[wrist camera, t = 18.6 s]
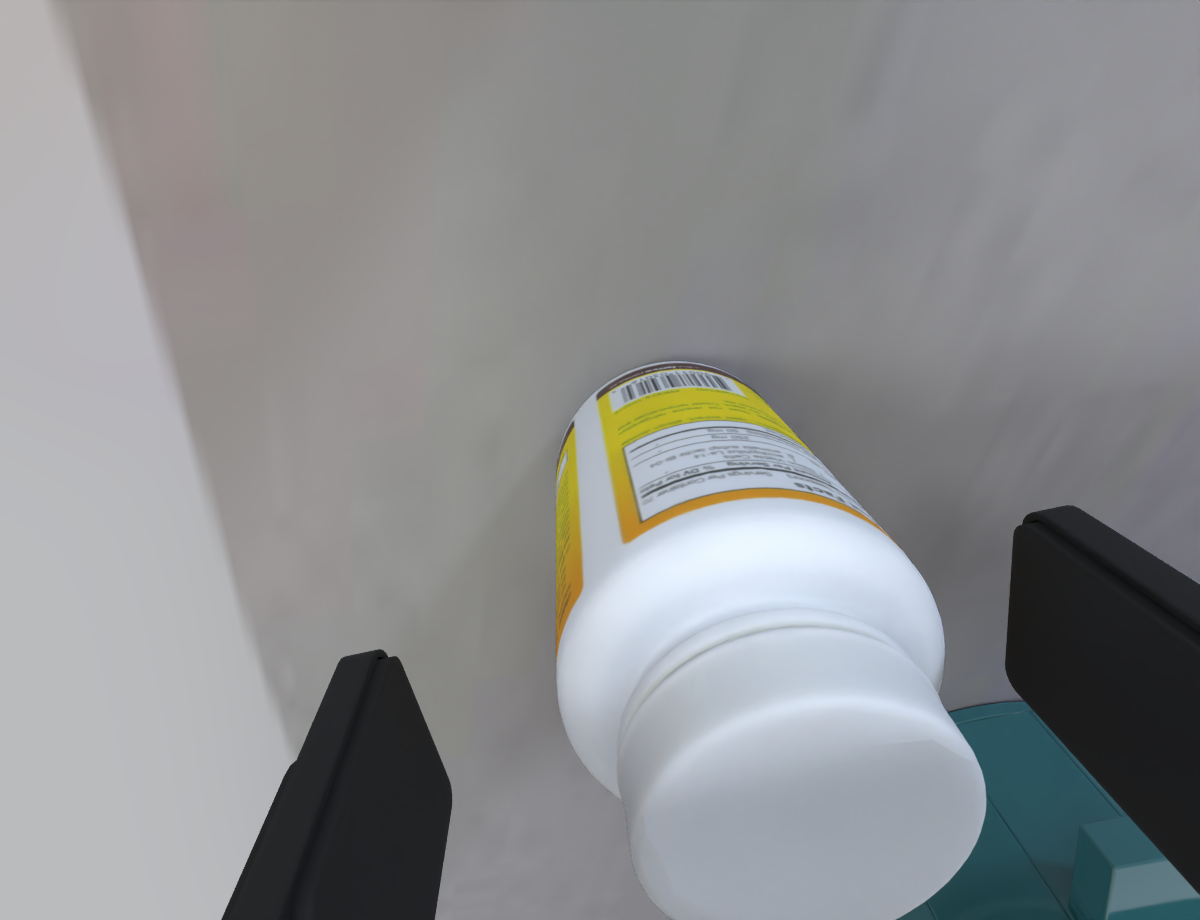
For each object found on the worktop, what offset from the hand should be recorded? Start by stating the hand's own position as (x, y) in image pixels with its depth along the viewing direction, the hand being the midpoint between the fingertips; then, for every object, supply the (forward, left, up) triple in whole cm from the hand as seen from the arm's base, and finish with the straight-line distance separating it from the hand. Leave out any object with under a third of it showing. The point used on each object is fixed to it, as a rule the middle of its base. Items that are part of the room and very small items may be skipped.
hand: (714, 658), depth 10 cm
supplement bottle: (0, 0, -7) cm, 7 cm away
